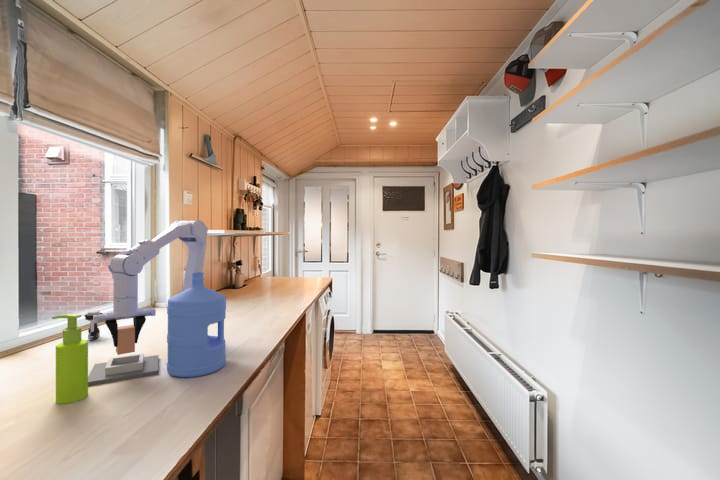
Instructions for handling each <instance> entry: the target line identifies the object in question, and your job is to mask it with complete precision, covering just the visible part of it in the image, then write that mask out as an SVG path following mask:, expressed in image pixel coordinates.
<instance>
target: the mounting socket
mask: <svg viewBox="0 0 720 480" xmlns="http://www.w3.org/2000/svg"><path fill="white" fill-rule="evenodd" d="M154 375H159V354H155V355H148V356H145V353H135V354H129V355H122V356H116V357H115V356H114V357H109V358H108V361H107V362H100V363H98V362H97V363H94V365H93V366H92V368H91V371H90V373H88V387H89V386H94V385H95V386H96V385H101V384H107V383H113V382H119V381H126V380H130V379H136V378H143V377H149V376H154Z"/></svg>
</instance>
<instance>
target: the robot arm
mask: <svg viewBox="0 0 720 480" xmlns="http://www.w3.org/2000/svg"><path fill="white" fill-rule="evenodd" d="M208 231H209V228H208V227H207V225H206V224H205V222H204V221H203V220H201V219H197V220H193V219H192V220H191V219H190V220H187V219H186V220H185V219H177V220H175V221H174V222H171V223H170V226H169V227H168V228H166V229H164V230H163V231H162V232H161V233H159V234H158V235H157V236H155V237H154V238H153V239H152V240H150V239H141V240H139V241H138V244H136V245H135V246H132V248H130V249H126V250H125V252H124V253H123V254H116V255H115V256H113V257H112V259H111V260H110V262H109V264H107V267H108V270H109V272H110V273H111V275H112V276H111V278H112V279H113V284H112V285H113V293H112V294H113V300H112V301H113V308H112V309H113V311H112V312H105V313H103V314H99V315H93V323H97V324H99V323H103V322H104V323H105V325H106V326H107V328H108V330H109V332H110V334H111V337H112V341H113V346H114V348H116V347H117V346H118V340H117V327H119V326H118V321H119V320H126V319H127V320H128V319H132V320H133V321H132V322H133V323H132V324H133V326H134V327H135V344H138V341H139V336H140V334H141V331H142V328H143V327H144V325H145V323H146V320H147V319H146V318H147V317H156V308H155V307H154V308H153V307H152V308H139V306H138V305H139V301H138V300H139V294H138V293H139V291H138V289H139V288H138V287H139V286H138V285H139V283H138V281H139V277H138V276H139V274H141V272H142V271H143V269H144V266H145V265H146V264H147V263H148V262H150V261H151V260H153V259H154V258H156V257H157V256H158V255H160V249H162V248H164V247H165V246H166V245H169V244H170V243H172V242H174V241H175V240H177V239H179V240H180V241H181V243H182V242H183V243H184V245H186V246H187V247H188V254H187V258H186V259H187V261H186V267H185V273H184V277H183V285H182V289H181V292H183V291H185V290H187V289H189V288H190V287H191V286H192V273H196V272H202V273H204V271H203V270H204V264H205V260H206V259H205V257H206V250H207V238H208Z"/></svg>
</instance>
